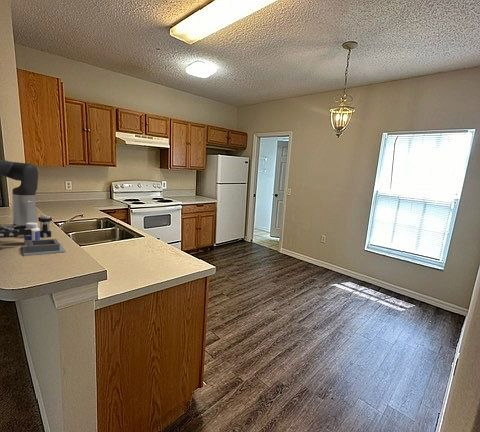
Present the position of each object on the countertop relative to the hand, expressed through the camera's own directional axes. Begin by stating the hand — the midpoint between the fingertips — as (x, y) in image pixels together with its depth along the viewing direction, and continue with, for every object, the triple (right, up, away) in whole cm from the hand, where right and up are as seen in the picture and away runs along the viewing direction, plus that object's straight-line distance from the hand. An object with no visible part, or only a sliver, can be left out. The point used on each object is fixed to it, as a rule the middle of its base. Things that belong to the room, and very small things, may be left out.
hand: (30, 229), depth 110 cm
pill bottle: (0, -6, +1) cm, 6 cm away
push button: (-4, -4, +13) cm, 14 cm away
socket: (+9, -8, -5) cm, 13 cm away
